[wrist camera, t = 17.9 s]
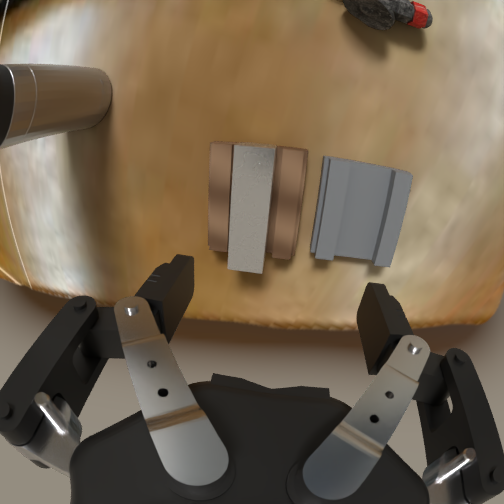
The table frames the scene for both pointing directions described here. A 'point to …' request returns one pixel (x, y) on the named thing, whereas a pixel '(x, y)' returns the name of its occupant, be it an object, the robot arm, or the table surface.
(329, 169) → the grey channel bracket
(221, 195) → the cradle
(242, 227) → the block
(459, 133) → the table surface
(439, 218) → the table surface
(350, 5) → the valve
